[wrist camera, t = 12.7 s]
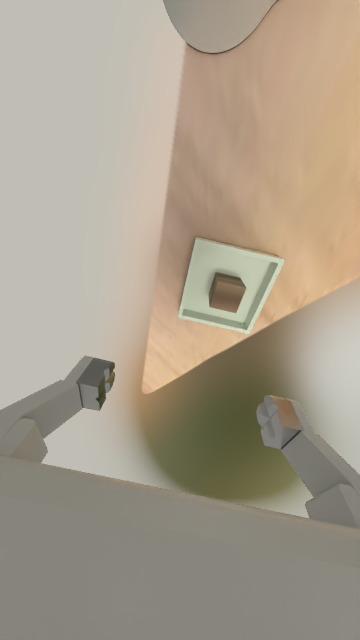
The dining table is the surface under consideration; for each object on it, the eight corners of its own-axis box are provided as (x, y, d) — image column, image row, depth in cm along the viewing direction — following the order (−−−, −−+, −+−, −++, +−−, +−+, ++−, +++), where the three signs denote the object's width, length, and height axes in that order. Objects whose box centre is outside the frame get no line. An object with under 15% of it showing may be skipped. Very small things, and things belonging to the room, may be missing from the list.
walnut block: (215, 271, 36) (217, 281, 31) (240, 277, 36) (246, 287, 31) (208, 295, 38) (209, 307, 33) (231, 300, 38) (236, 313, 33)
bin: (196, 236, 34) (195, 238, 30) (276, 255, 34) (285, 259, 31) (179, 309, 42) (177, 317, 38) (245, 324, 42) (249, 334, 38)
